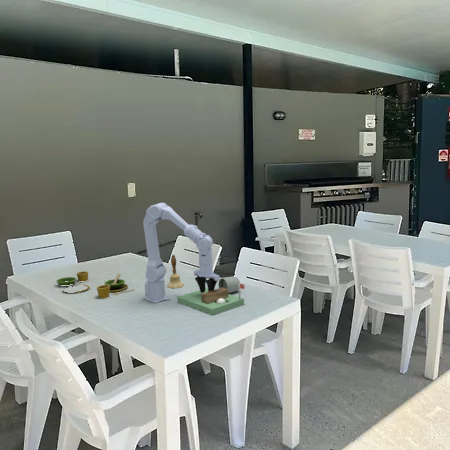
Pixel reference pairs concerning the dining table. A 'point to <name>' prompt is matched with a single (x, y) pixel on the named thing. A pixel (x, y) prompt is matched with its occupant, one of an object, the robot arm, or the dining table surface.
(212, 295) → the block
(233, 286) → the ceramic mug
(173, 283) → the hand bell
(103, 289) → the tableware set
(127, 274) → the dining table surface
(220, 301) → the golf ball
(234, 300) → the putting deck
